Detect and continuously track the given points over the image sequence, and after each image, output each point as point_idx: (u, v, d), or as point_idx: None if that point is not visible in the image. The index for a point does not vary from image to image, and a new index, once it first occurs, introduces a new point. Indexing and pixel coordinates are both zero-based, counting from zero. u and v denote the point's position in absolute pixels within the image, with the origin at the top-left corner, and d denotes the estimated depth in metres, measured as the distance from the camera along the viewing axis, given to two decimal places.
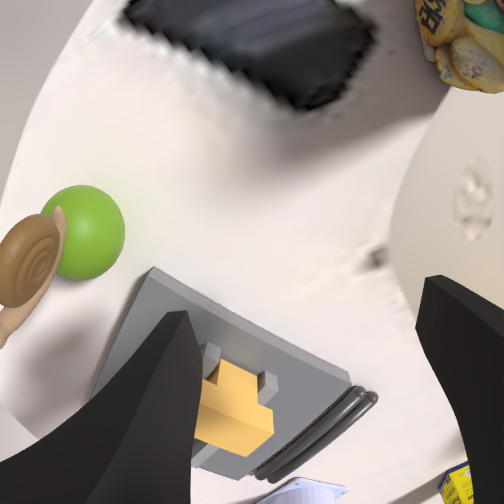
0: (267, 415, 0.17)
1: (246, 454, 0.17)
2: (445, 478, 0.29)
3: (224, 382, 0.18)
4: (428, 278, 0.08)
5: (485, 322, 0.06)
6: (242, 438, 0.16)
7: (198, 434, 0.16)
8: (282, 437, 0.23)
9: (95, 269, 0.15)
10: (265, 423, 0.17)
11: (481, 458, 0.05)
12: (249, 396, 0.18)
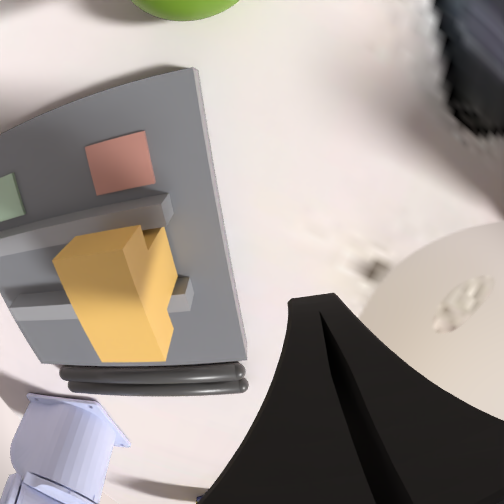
0: (168, 332, 0.13)
1: (105, 359, 0.12)
2: None
3: (154, 254, 0.12)
4: (314, 298, 0.08)
5: (344, 356, 0.06)
6: (123, 339, 0.11)
7: (75, 294, 0.10)
8: None
9: None
10: (163, 341, 0.12)
11: None
12: (164, 293, 0.13)
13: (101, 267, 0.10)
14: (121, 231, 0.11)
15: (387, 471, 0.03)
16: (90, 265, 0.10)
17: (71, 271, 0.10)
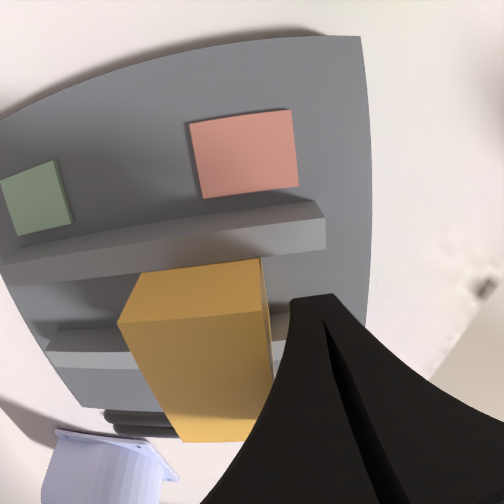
0: None
1: (190, 440, 0.08)
2: None
3: (264, 297, 0.09)
4: (312, 298, 0.08)
5: (343, 357, 0.06)
6: (227, 420, 0.08)
7: (156, 371, 0.07)
8: None
9: None
10: None
11: None
12: (271, 347, 0.10)
13: (215, 336, 0.06)
14: (231, 270, 0.07)
15: (385, 472, 0.03)
16: (193, 333, 0.06)
17: (154, 340, 0.06)
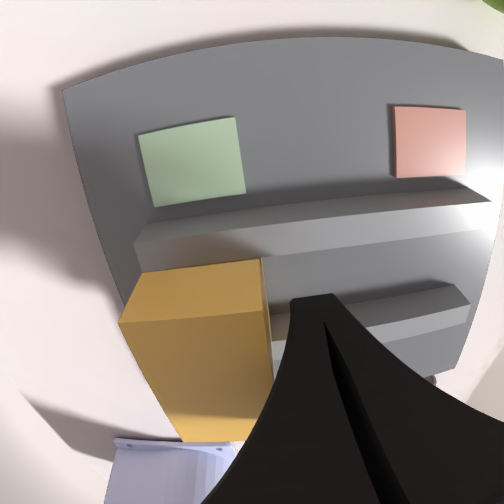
0: None
1: (190, 440, 0.08)
2: None
3: None
4: (312, 298, 0.08)
5: (342, 357, 0.06)
6: (227, 420, 0.08)
7: (156, 370, 0.07)
8: None
9: None
10: None
11: None
12: (271, 347, 0.10)
13: (215, 336, 0.06)
14: (232, 270, 0.07)
15: (385, 472, 0.03)
16: (194, 333, 0.06)
17: (155, 340, 0.06)
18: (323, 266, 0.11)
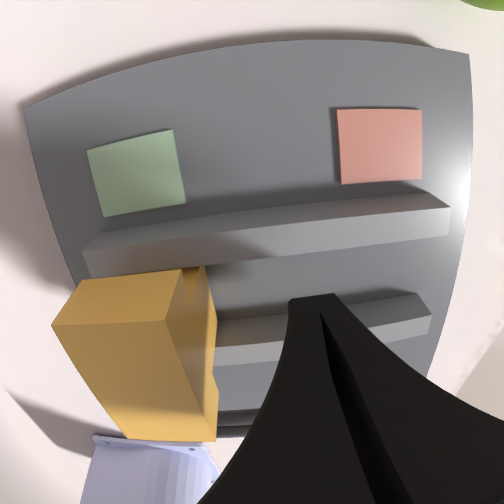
0: (215, 401, 0.09)
1: (133, 437, 0.08)
2: None
3: (197, 305, 0.09)
4: (314, 298, 0.08)
5: (344, 357, 0.06)
6: (160, 421, 0.08)
7: (88, 369, 0.07)
8: None
9: None
10: (212, 417, 0.09)
11: None
12: (209, 353, 0.10)
13: (129, 341, 0.06)
14: (154, 279, 0.08)
15: (387, 471, 0.03)
16: (111, 337, 0.06)
17: (81, 342, 0.06)
18: (269, 274, 0.12)
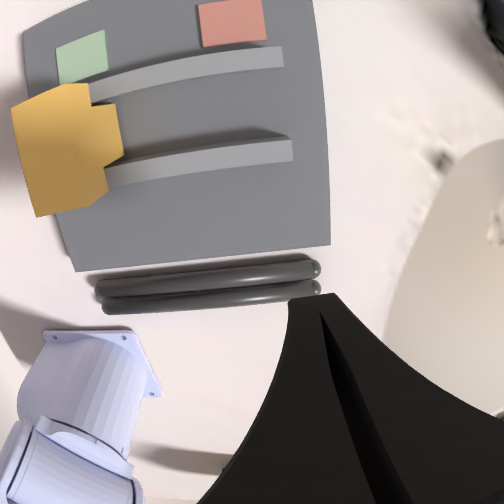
0: (100, 186, 0.12)
1: (39, 213, 0.11)
2: None
3: (98, 115, 0.12)
4: (313, 297, 0.08)
5: (344, 357, 0.06)
6: (55, 182, 0.11)
7: (22, 138, 0.10)
8: (196, 245, 0.18)
9: None
10: (92, 188, 0.12)
11: None
12: (103, 153, 0.13)
13: (46, 104, 0.09)
14: None
15: (387, 471, 0.03)
16: (38, 104, 0.09)
17: (23, 114, 0.09)
18: (159, 116, 0.14)
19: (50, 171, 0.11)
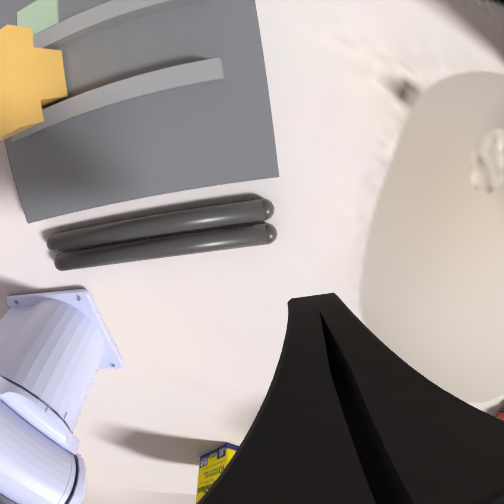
0: (34, 115, 0.11)
1: None
2: (218, 451, 0.31)
3: (41, 56, 0.10)
4: (314, 298, 0.08)
5: (344, 356, 0.06)
6: None
7: None
8: (135, 183, 0.16)
9: None
10: (24, 113, 0.10)
11: None
12: (42, 88, 0.11)
13: None
14: None
15: (387, 471, 0.03)
16: None
17: None
18: (100, 56, 0.13)
19: None
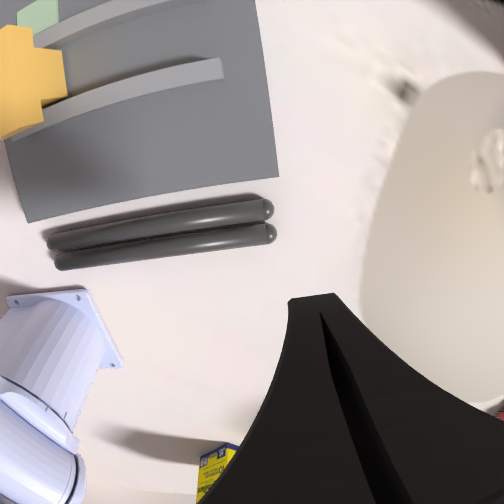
0: (34, 115, 0.11)
1: None
2: (218, 451, 0.31)
3: (41, 56, 0.10)
4: (314, 298, 0.08)
5: (344, 356, 0.06)
6: None
7: None
8: (135, 183, 0.16)
9: None
10: (24, 113, 0.10)
11: None
12: (42, 88, 0.11)
13: None
14: None
15: (387, 471, 0.03)
16: None
17: None
18: (100, 56, 0.13)
19: None
